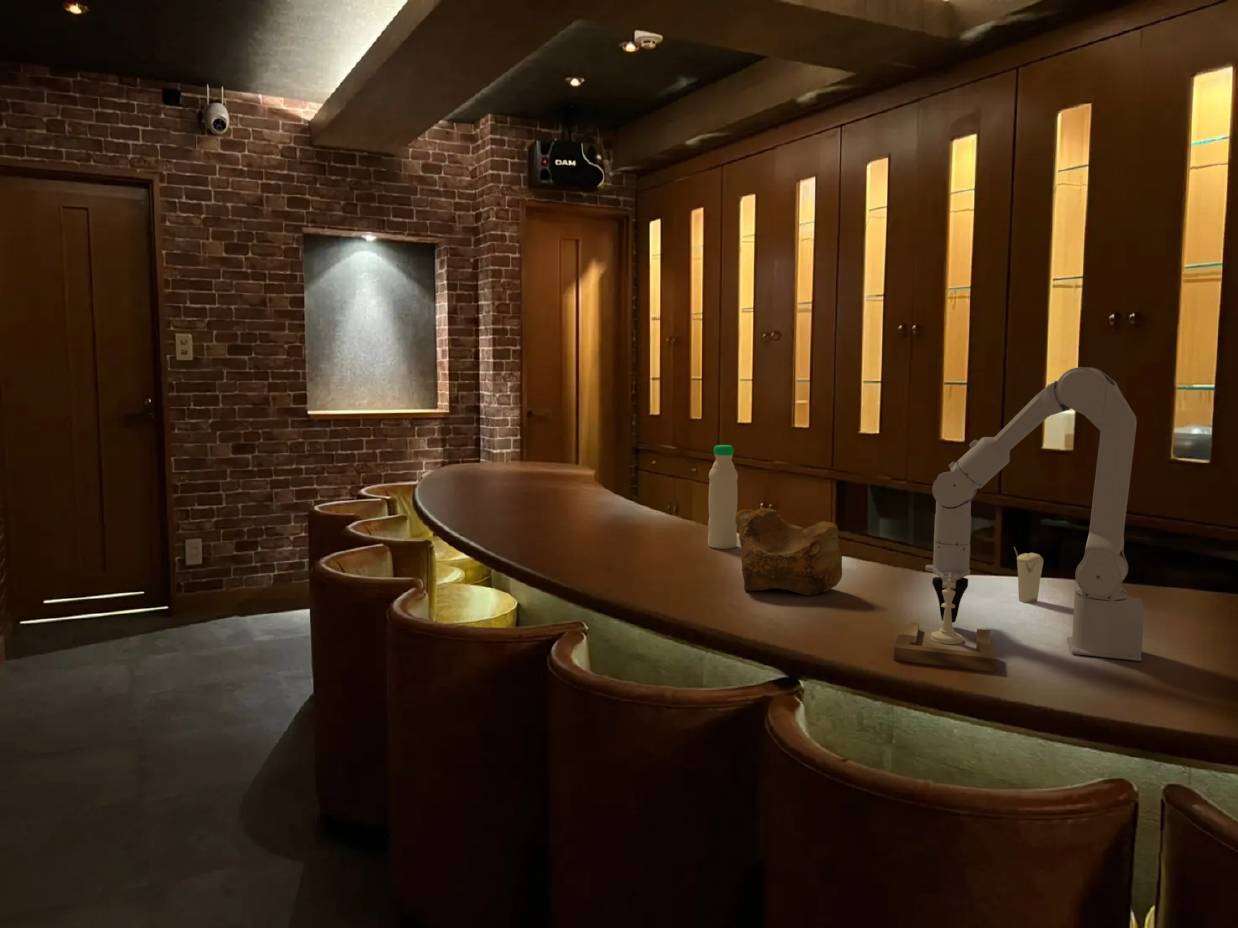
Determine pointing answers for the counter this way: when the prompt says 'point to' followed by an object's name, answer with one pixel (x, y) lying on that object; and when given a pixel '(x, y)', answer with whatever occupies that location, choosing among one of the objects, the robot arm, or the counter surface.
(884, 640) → the counter surface
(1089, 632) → the robot arm
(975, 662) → the stop rail
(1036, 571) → the milkshake
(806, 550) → the rough brown rock
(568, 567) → the counter surface
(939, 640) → the chess piece
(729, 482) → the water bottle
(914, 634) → the pocket channel
